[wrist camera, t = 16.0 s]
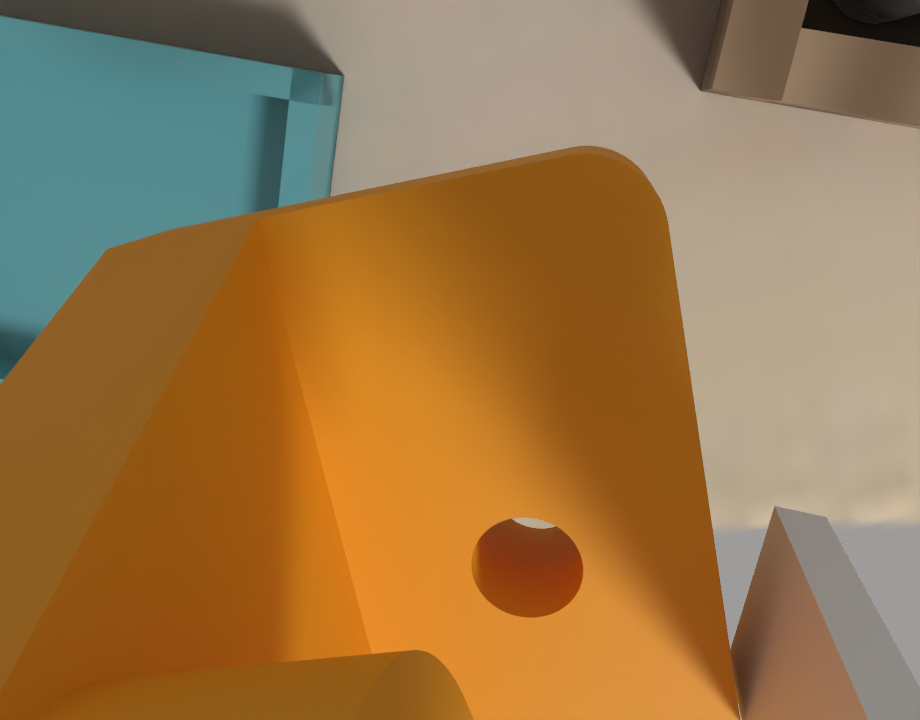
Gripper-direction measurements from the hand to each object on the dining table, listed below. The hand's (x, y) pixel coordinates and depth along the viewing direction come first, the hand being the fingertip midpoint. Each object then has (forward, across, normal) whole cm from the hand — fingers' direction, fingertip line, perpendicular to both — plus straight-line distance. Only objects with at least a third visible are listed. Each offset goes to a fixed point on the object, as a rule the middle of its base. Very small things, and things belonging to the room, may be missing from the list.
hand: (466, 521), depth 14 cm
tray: (+19, -16, -1) cm, 24 cm away
